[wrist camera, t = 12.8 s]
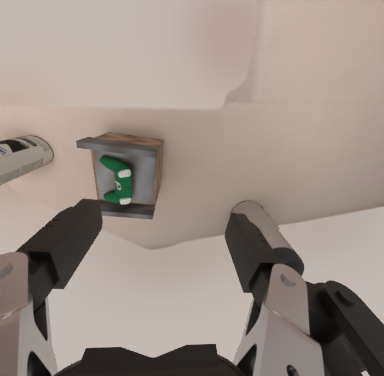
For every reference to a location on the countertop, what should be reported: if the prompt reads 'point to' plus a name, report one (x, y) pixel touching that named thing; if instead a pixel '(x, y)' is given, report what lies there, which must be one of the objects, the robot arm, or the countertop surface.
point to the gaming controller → (119, 180)
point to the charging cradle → (140, 167)
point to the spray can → (22, 156)
